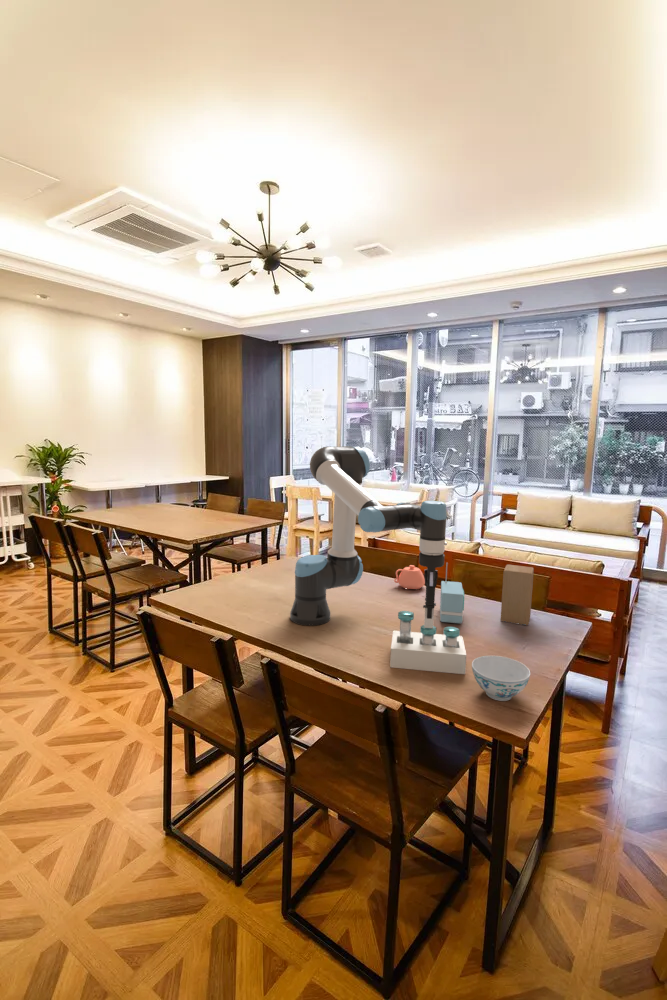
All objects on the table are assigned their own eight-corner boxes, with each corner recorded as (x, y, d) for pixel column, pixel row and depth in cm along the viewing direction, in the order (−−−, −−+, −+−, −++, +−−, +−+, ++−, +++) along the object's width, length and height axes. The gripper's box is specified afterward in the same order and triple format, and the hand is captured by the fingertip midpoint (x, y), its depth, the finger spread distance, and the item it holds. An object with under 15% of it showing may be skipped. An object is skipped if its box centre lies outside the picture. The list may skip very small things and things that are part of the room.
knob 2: (442, 661, 153) (444, 632, 152) (441, 654, 158) (443, 626, 157) (458, 662, 152) (460, 633, 151) (457, 656, 157) (459, 627, 156)
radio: (465, 626, 185) (467, 573, 183) (440, 623, 187) (442, 571, 184) (462, 611, 201) (465, 562, 198) (439, 609, 203) (442, 561, 200)
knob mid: (419, 659, 154) (420, 630, 153) (419, 652, 159) (420, 624, 158) (435, 660, 154) (436, 631, 152) (434, 654, 158) (436, 625, 157)
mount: (390, 667, 151) (390, 648, 151) (392, 647, 165) (393, 630, 164) (465, 674, 148) (466, 655, 147) (461, 653, 161) (462, 636, 161)
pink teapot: (426, 591, 225) (427, 569, 223) (395, 591, 225) (396, 568, 224) (422, 583, 237) (423, 562, 236) (392, 582, 237) (393, 561, 236)
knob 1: (396, 645, 155) (397, 615, 154) (397, 638, 160) (398, 610, 158) (412, 646, 154) (413, 617, 153) (412, 640, 159) (413, 611, 158)
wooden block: (530, 617, 195) (533, 567, 193) (528, 626, 186) (532, 573, 184) (503, 613, 199) (506, 564, 197) (500, 621, 190) (503, 570, 188)
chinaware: (467, 702, 132) (469, 674, 131) (473, 677, 146) (474, 651, 145) (528, 714, 127) (530, 685, 126) (528, 687, 141) (530, 661, 140)
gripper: (445, 558, 145) (441, 636, 148) (443, 548, 158) (440, 620, 161) (419, 556, 146) (416, 634, 149) (419, 546, 159) (416, 618, 162)
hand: (428, 627), depth 155 cm, fingers closed
